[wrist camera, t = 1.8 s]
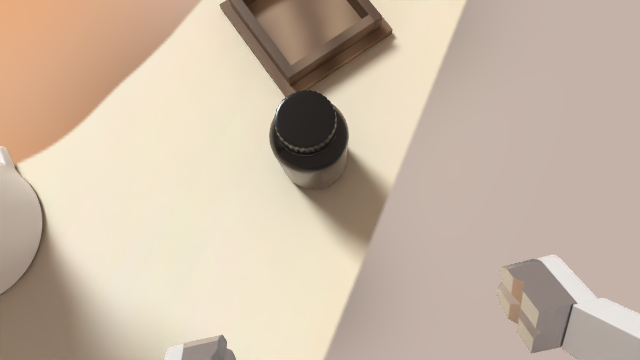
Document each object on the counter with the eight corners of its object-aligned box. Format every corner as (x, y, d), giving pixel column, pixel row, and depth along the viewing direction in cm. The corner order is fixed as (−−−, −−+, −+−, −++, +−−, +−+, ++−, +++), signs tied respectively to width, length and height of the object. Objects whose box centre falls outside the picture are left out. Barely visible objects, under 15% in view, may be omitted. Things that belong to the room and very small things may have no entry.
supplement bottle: (339, 122, 41) (342, 69, 30) (352, 183, 40) (361, 153, 28) (276, 134, 41) (254, 86, 30) (287, 196, 40) (269, 171, 28)
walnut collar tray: (288, 101, 42) (285, 90, 39) (221, 9, 44) (214, -8, 42) (391, 33, 43) (395, 18, 41) (320, -53, 46) (319, -73, 43)
